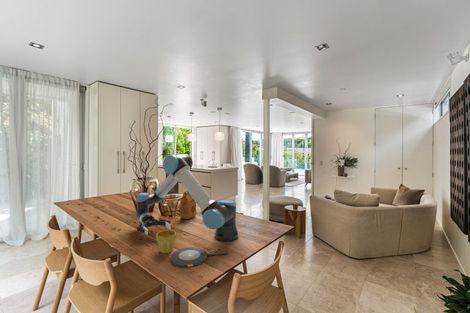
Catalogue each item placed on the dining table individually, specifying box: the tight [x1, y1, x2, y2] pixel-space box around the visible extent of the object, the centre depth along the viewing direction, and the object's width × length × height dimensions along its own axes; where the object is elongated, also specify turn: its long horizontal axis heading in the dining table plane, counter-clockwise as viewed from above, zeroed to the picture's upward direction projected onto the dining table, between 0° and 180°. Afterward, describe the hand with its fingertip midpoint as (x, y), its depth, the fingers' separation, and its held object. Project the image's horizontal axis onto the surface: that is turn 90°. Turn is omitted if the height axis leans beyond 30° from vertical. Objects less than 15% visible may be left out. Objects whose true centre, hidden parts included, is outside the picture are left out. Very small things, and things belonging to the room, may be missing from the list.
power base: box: [170, 246, 229, 268], centre depth 119 cm, size 30×18×2 cm, turn 104°
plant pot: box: [155, 229, 177, 254], centre depth 125 cm, size 10×10×10 cm
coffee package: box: [179, 190, 197, 220], centre depth 184 cm, size 10×12×22 cm
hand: (159, 229), depth 133 cm, fingers open, 13 cm apart
